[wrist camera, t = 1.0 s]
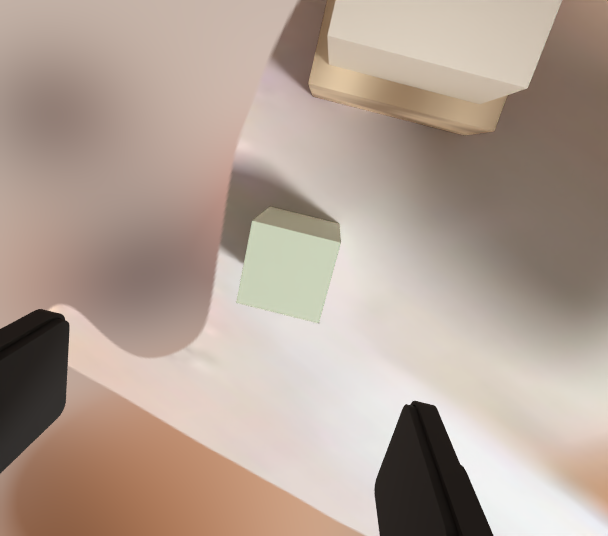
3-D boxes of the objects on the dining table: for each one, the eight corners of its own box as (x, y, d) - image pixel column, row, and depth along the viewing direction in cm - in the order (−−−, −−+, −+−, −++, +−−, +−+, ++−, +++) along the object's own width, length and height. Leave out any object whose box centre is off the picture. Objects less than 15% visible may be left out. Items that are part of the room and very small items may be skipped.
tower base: (526, -46, 21) (581, -102, 17) (462, 135, 24) (494, 131, 20) (356, -90, 21) (362, -159, 17) (313, 97, 24) (308, 83, 20)
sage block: (339, 223, 26) (340, 242, 21) (321, 288, 28) (318, 323, 22) (269, 206, 26) (252, 220, 21) (256, 272, 28) (236, 302, 22)
